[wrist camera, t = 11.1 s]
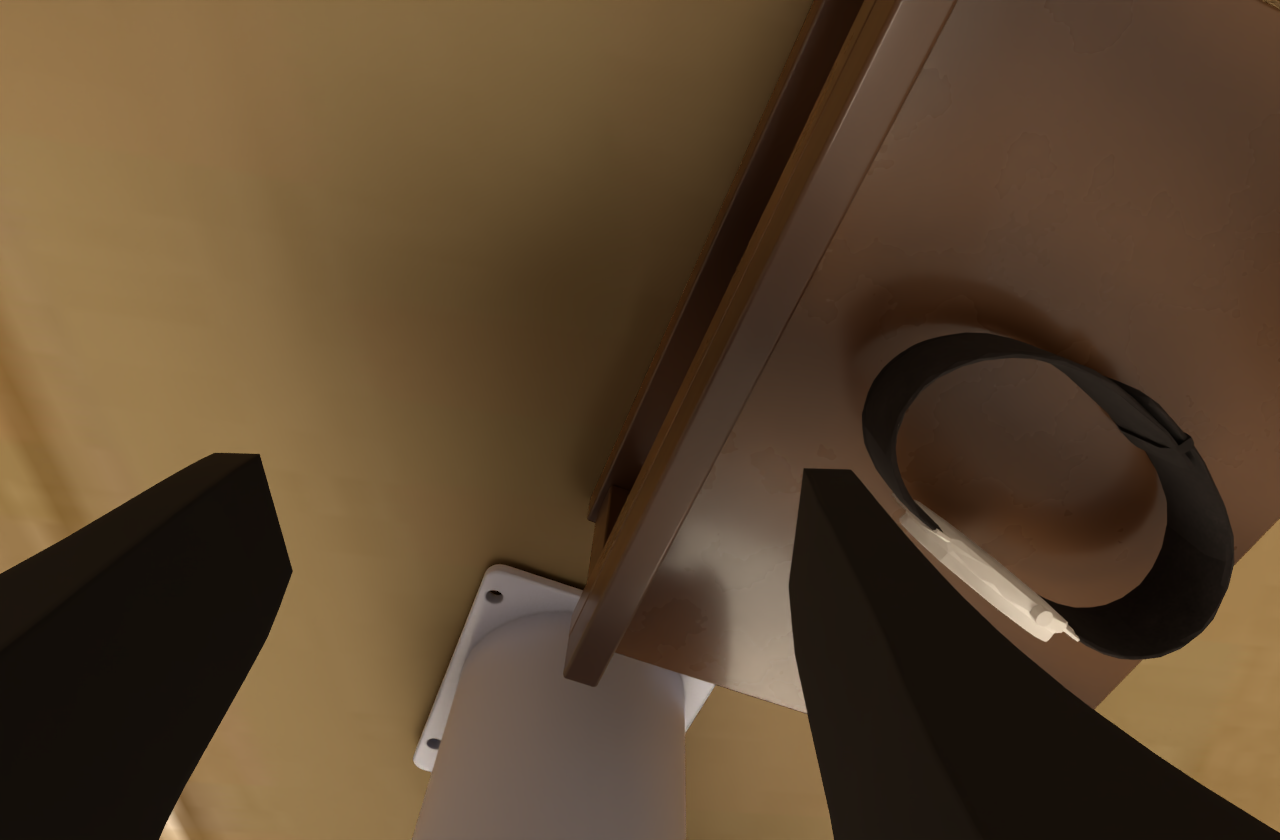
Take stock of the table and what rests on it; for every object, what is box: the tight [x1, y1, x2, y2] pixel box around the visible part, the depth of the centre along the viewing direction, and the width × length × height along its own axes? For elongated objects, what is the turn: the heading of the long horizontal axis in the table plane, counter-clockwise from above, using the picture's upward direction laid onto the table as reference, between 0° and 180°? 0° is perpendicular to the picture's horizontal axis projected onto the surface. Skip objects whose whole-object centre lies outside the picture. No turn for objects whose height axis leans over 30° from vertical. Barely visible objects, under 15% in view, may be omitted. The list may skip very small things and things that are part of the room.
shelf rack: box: [563, 0, 1280, 714], centre depth 18 cm, size 16×12×7 cm
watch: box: [862, 332, 1235, 660], centre depth 15 cm, size 8×5×4 cm, turn 52°
